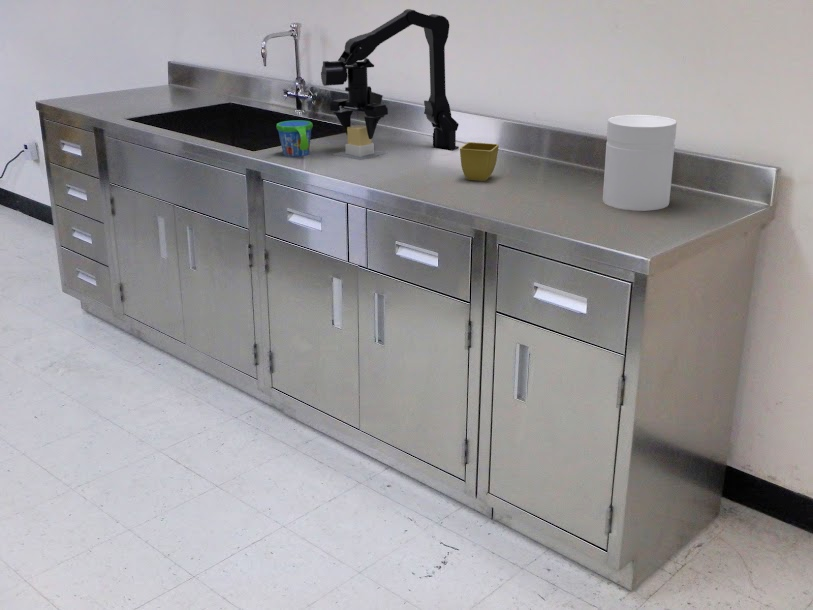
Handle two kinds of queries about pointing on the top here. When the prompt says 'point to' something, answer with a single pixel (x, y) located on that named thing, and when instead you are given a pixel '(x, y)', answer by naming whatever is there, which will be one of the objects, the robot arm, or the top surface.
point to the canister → (639, 162)
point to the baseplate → (343, 154)
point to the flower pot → (478, 160)
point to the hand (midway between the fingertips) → (359, 136)
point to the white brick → (359, 149)
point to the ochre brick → (358, 135)
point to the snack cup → (295, 137)
